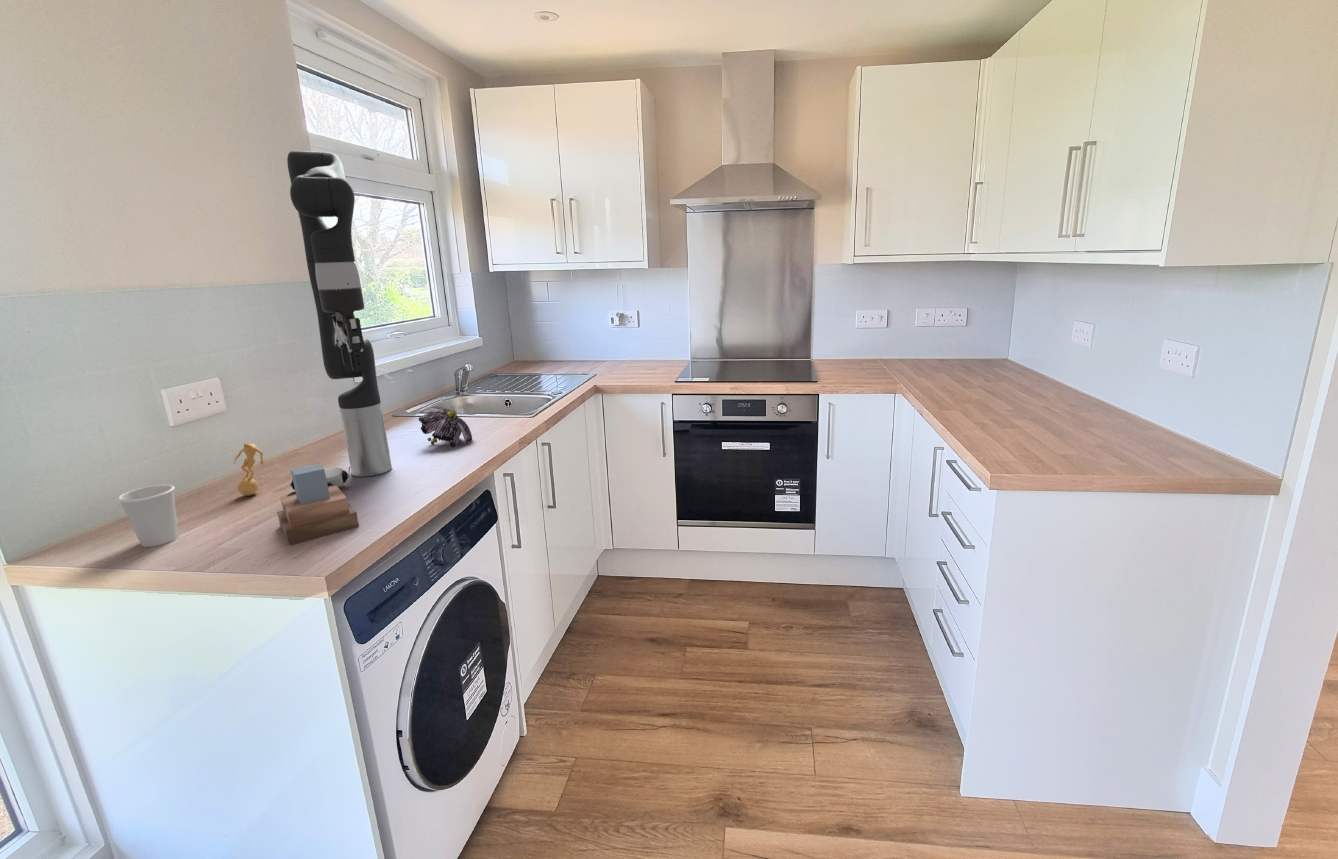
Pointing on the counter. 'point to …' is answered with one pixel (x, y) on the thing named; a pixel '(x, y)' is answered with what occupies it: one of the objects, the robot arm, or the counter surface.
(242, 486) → the figurine
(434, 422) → the decorative flower
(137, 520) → the dixie cup
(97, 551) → the counter surface
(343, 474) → the robot toy
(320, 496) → the slate brick
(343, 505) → the wooden stepped block
